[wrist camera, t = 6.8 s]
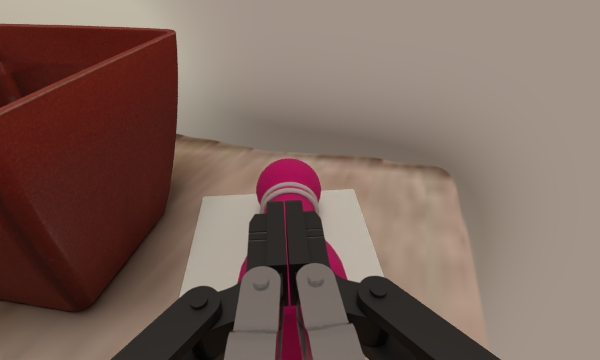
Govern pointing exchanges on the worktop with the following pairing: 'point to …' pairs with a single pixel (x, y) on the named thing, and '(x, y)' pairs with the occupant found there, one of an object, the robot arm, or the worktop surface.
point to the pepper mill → (279, 187)
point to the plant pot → (81, 155)
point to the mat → (235, 228)
